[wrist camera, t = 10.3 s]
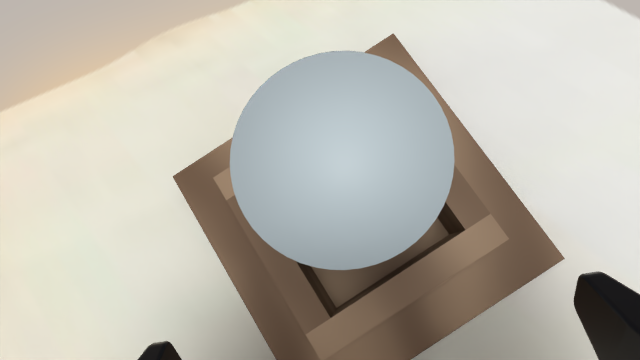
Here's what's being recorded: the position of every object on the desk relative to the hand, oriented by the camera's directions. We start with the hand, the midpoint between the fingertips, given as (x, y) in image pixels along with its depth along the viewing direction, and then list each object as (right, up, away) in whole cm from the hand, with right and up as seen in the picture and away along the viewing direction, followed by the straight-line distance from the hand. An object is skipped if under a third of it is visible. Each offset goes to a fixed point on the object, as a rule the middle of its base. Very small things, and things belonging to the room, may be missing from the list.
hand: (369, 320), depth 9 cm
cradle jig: (+1, +1, +13) cm, 13 cm away
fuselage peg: (+1, +1, +12) cm, 12 cm away
